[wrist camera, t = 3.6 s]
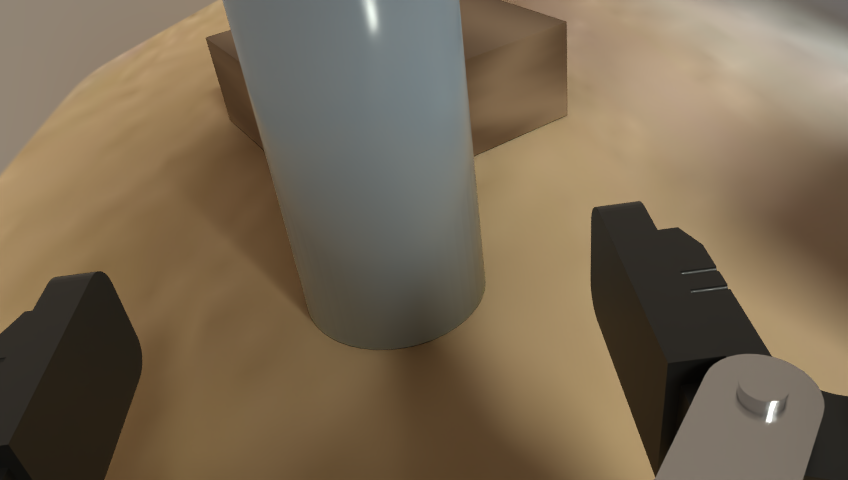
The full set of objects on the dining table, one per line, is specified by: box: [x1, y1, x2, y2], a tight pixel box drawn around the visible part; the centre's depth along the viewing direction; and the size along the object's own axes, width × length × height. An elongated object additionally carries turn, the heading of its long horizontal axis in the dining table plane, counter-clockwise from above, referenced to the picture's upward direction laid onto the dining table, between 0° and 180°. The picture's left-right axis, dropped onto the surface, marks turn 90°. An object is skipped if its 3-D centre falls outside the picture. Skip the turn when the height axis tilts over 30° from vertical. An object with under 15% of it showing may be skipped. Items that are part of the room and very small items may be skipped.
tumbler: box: [223, 0, 485, 350], centre depth 20 cm, size 6×6×12 cm
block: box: [206, 0, 567, 156], centre depth 32 cm, size 11×11×4 cm
